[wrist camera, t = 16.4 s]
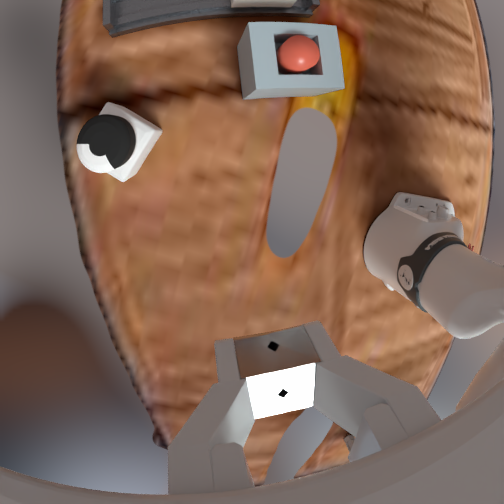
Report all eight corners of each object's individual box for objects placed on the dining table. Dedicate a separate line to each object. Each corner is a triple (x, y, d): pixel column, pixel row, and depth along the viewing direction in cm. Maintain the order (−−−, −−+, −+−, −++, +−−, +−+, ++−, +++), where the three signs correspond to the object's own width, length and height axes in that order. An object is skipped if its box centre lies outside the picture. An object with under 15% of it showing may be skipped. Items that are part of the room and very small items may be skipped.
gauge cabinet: (306, 39, 33) (335, 18, 24) (313, 96, 37) (344, 88, 28) (236, 40, 32) (247, 14, 23) (243, 99, 36) (256, 89, 27)
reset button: (303, 46, 28) (317, 36, 24) (307, 75, 30) (321, 69, 26) (270, 45, 28) (280, 34, 24) (274, 76, 29) (285, 68, 25)
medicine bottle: (122, 105, 33) (92, 96, 22) (164, 130, 36) (148, 129, 25) (96, 150, 35) (58, 159, 24) (136, 174, 37) (111, 192, 26)
